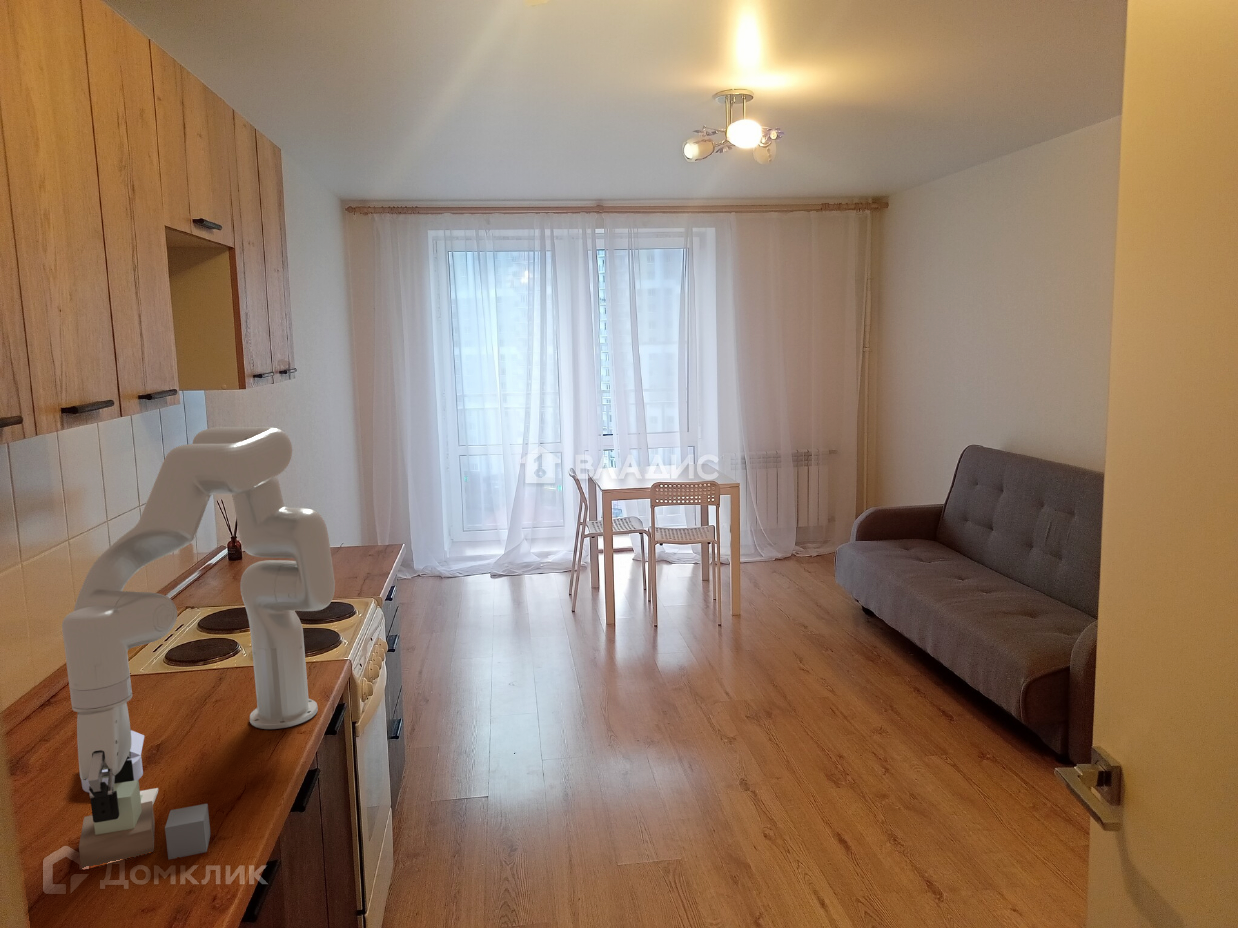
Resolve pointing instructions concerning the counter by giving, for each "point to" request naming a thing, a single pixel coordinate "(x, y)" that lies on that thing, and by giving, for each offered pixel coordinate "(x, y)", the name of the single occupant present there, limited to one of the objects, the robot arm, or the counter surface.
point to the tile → (148, 795)
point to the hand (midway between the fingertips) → (114, 802)
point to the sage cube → (123, 809)
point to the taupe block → (117, 840)
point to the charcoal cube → (187, 831)
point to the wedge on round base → (135, 757)
